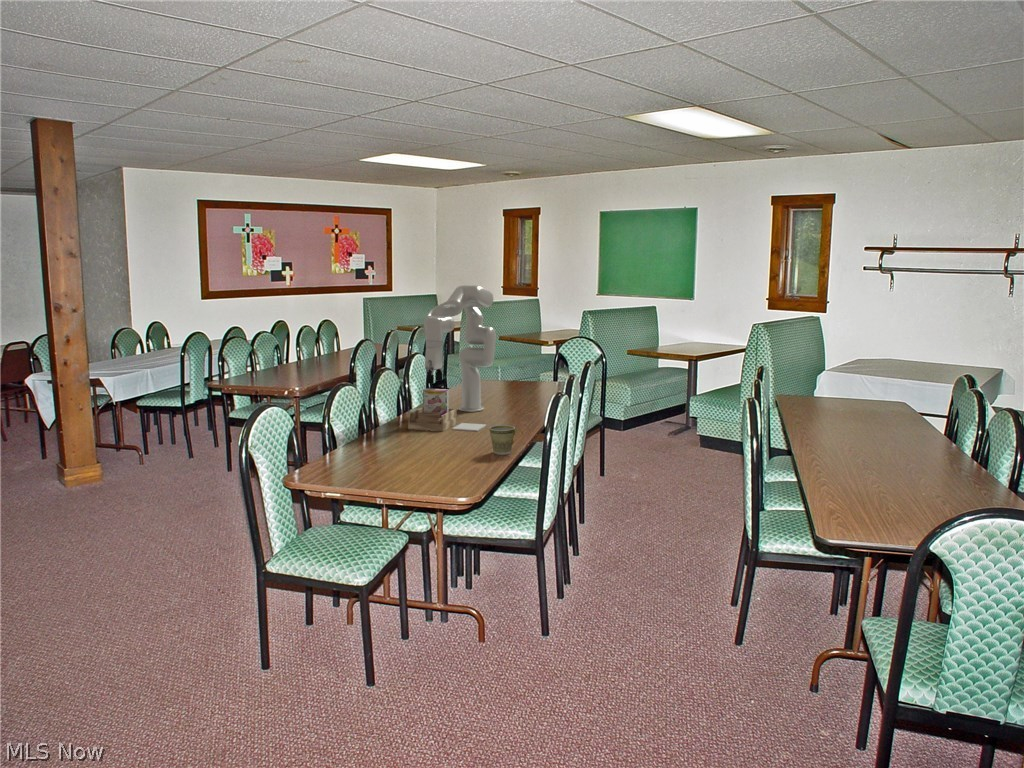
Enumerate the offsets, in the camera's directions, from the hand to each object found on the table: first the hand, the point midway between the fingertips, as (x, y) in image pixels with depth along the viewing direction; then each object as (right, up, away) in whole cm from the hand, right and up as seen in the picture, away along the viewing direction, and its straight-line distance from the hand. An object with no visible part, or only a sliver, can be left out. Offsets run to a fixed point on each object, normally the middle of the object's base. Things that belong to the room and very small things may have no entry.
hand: (434, 382), depth 341 cm
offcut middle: (-2, -19, -4) cm, 19 cm away
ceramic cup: (+33, -28, -49) cm, 65 cm away
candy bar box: (0, -20, +4) cm, 20 cm away
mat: (+16, -21, -3) cm, 26 cm away
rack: (-1, -20, 0) cm, 20 cm away
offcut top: (-2, -16, -4) cm, 17 cm away
